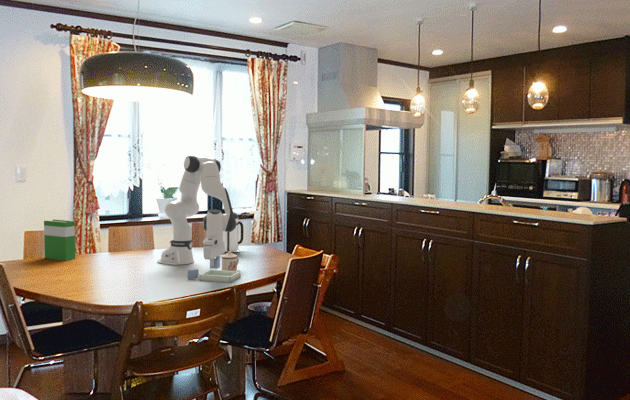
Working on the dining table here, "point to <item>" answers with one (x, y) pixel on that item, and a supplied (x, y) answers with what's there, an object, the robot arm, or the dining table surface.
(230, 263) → the teacup with lid
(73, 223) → the cereal box
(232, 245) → the coffee press
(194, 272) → the blue block
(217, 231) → the robot arm
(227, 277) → the sage tray
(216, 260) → the blue block
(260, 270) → the dining table surface
